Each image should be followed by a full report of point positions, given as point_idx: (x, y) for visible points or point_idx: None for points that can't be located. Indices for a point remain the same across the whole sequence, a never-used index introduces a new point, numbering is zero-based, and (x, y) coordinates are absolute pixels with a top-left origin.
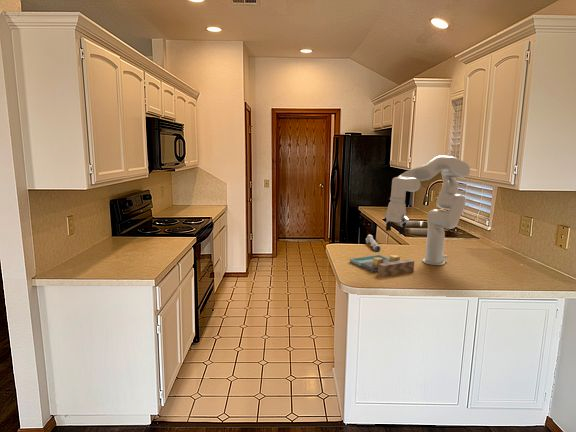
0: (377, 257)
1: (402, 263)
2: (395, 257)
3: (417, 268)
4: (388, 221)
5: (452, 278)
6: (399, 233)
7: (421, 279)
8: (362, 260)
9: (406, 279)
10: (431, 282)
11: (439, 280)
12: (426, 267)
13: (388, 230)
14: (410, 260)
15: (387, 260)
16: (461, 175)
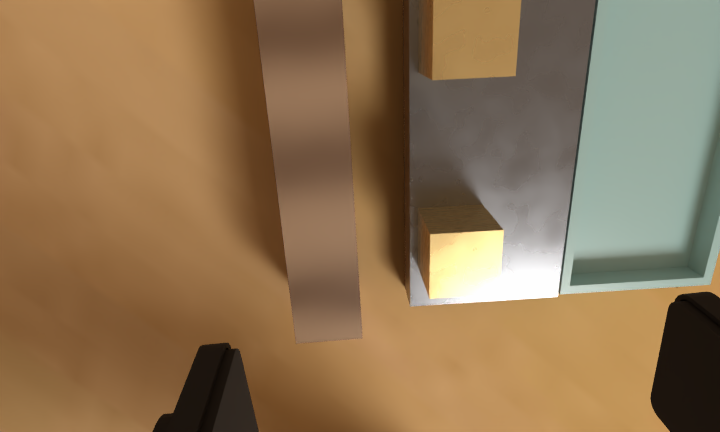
0: (510, 54)
1: (279, 205)
2: (429, 244)
3: (348, 360)
4: None
5: (86, 418)
6: (212, 351)
7: (107, 217)
8: (717, 70)
9: (132, 101)
10: (25, 238)
11: (61, 319)
12: (344, 424)
13: (663, 347)
14: (325, 326)
15: (537, 231)
16: None
